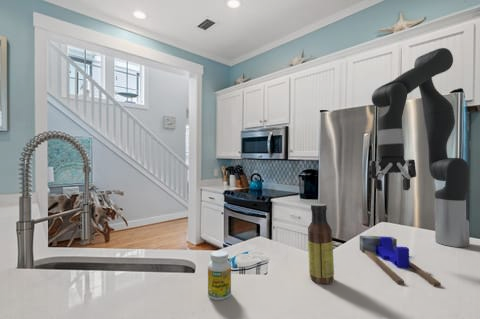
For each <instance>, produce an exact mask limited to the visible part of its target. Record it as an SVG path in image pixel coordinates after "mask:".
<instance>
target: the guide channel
mask: <svg viewBox="0 0 480 319" xmlns="http://www.w3.org/2000/svg"><path fill="white" fill-rule="evenodd" d="M380 237H386V236H385V235H384V236H383V235H382V236H379V235H377V236H376V235H359V250H360V251H361V252H362V253H364V254H365V255H366V256H367V257H368V258H370V260H371V261H372V262H374V263H375V264H376V266H378V267H379V269H380V270H382V271H383V272H384V273H385V274H387V276H388V277H389V278H391V279H392V281H394V282H395V283H396V284H397V285H402V286H403V285H405V280H404V279H403V278H401V276H400V275H398V274H397V272H395V271H394V270H392V269H391V268H390V267H389V266H388V265H387V264H386V263H385V262H384V261H382V260H381V259H380V257H379V256H378V257H377V256H376V255H375V254H376V245H381V240H380ZM390 237H391V238H392V244H393V248H394V251H395V249H396V247H398V246H397V242H398V241H397V238H395V237H394V236H390ZM408 269H410V270H412V271H413V272H414V273H416V274H417V275H418V276H419V277H421V278H422V279H423V280H425V281H426V282H428V283H429V284H430V285H431V286H433V287H436V288H441V287H442V284H441V282H440V281H439V280H437V279H436V278H435V277H433V276H432V275H430V274H429V273H428V272H426V271H424V270H423V269H422V268H420V267H419V266H417V265H416V264H415V263H414V262H411V261H410V260H409V268H408Z"/></svg>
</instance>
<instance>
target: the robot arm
mask: <svg viewBox="0 0 480 319" xmlns="http://www.w3.org/2000/svg"><path fill="white" fill-rule="evenodd" d="M453 56H454V55H453V53H452V51H451V50H450V49H448V48H445V47H441V48H437V49H436V48H435V50H432V51H429V52H427V53H424V54H422V55H419V56H418V57H417V58H416V59H415V61H414V65H413V66H414V67H413V68H411V69H409V70H407V71H405V72H404V73H402V74H400V75H399V76H397V77H396V78H395V79H393V80H391V81H390V82H387V83H385V84H383V85H381V86H379V87H377V88H376V89H374V91H373V93H372V94H371V102H372V104H373V106H375V107H377V108H387V107H388V109H387V111H385V112H383V113H381V114H379V116H378V119H377V123H378V124H377V126H378V135H377V140H378V141H377V147H378V148H377V149H378V161H377V160H369V162H368V178H371V179H373V180H374V184H375V185H374V186H375V189H376V190H377V191H378V192H382V191H383V181H382V180H381V179H382V178H383V177H384V176H385V175H386V174H391V173H394V174H395V173H396V174H398V175H400V176H401V177H402V190H403V191H410V189H411V179H413V178H416V177H417V170H416V169H417V168H416V161H415V159H407V160H405V139H404V137H405V136H404V132H403V131H404V130H403V116H404V115H403V114H404V110H405V107H406V102H407V99H408V95H409V94H410V93H412V92H413V91H414V90H416V89H417V88H418V89H419V92H420V97H421V104H422V112H423V119H424V126H425V129H426V130H425V131H426V139H427V148H428V169H429V174H430V176H431V177H432V179H434V180H435V181H439V182H445V184H444V187H442V188H441V189H438V190H435V192H434V215H435V216H434V223H435V225H434V230H435V231H434V232H435V236H434V237H435V242H436V243H438V244H440V245H443V246H444V245H445V246H448V247H453V248H454V247H456V248H465V247H470V221H469V220H468V219H467V195H468V193H469V185H470V184H469V183H470V167H469V164H468V162H467V161H466V160H465V159H463V158H461V157H448V151H447V150H448V148H447V145H448V142H449V139H450V137H451V135H452V133H453V131H454V128H455V124H456V119H455V112H454V107H453V104H452V103H451V101H449V100H448V99H447V98H446V97H445V96H444V95H443V94H441V92H439V90H437V88H436V87H435V84H434V82H433V77H435V76H437V75H440V74H443V73H445V72H447V71H448V70H450V69H451V68H452V66H453V64H454V63H453V62H454V57H453ZM405 165H406V167H407V170H406V169H405V168H404V166H405ZM377 167H379V169H378V171H377V170H376V169H377ZM376 172H377V173H376Z"/></svg>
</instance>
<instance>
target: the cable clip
mask: <svg viewBox="0 0 480 319" xmlns="http://www.w3.org/2000/svg"><path fill="white" fill-rule="evenodd" d="M391 237H392V236H385V237H380V240H381V245H376V253H375V254H376V255H377V256H378V257H379V258H381V259H382V260H384V261H389V262H390V263H392V264H393V265H394V266H396V268H398V269H410V268H409V261H410V248H408V246H397V247H396V249H395V251H394V248H393V244H392V238H391Z"/></svg>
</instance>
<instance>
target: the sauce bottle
mask: <svg viewBox="0 0 480 319" xmlns="http://www.w3.org/2000/svg"><path fill="white" fill-rule="evenodd" d="M327 206H328V205H327V204H326V203H319V202H318V203H310V210H311V222H310V224H309V226H308V227H307V235H308V236H307V238H308V239H307V244H308V246H307V247H308V270H309V271H308V272H309V278H310V279H311V281H313V282H314V283H318V284H320V285H329V284H333V282H334V279H335V277H334V275H335V270H334V269H335V268H334V267H335V265H334V248H333V244H334V243H333V242H334V241H333V235H332V234H333V230H332V228H331V227H330V225H329V222H328V218H327V210H328V207H327Z"/></svg>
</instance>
